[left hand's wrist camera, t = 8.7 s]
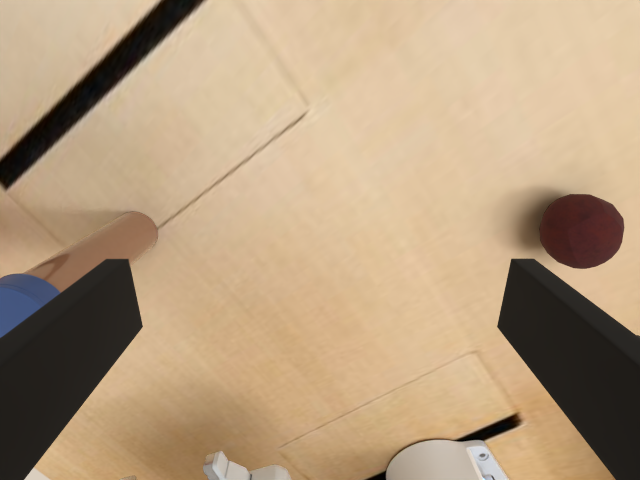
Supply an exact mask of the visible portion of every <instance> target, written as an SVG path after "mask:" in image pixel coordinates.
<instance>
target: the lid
mask: <svg viewBox="0 0 640 480" xmlns="http://www.w3.org/2000/svg"><path fill="white" fill-rule="evenodd" d="M60 293H61V292H60V291H59V290H58V289H57V288H55V287H54V286H53V285H52V284H50V283H49V282H47V281H45V280H43V279H41V278H39V277H36V276H32V275H28V274H11V275H7V276H4V277H2V278H0V338H1V337H2V336H4V335H5V334H6V333H8V332H9V331H10V330H12V329H13V328H14V327H16V326H17V325H18V324H20V323H21V322H23V321H24V320H25V319H27V318H28V317H29V316H31V315H32V314H33V313H35V312H36V311H37V310H39V309H40V308H41V307H43V306H44V305H45V304H47V303H48V302H49V301H51V300H52V299H53V298H55V297H56V296H57V295H59V294H60Z"/></svg>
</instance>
